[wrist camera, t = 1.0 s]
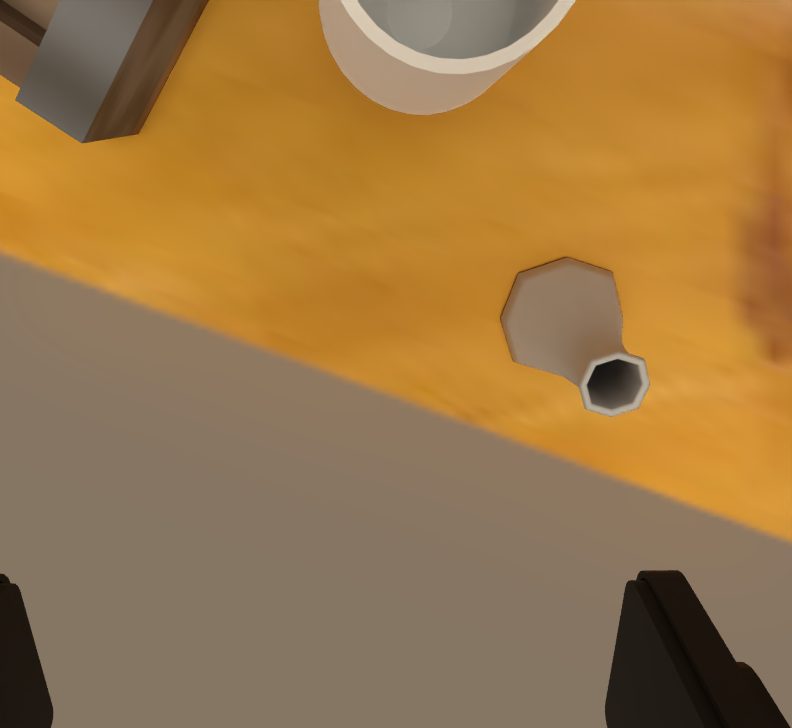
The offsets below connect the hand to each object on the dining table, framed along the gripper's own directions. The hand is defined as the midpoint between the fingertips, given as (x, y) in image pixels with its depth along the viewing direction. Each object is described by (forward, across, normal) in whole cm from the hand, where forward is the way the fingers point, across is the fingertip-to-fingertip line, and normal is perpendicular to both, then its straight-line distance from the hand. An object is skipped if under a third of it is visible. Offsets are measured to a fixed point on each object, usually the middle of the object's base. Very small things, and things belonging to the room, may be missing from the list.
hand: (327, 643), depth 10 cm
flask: (+29, -11, +4) cm, 32 cm away
